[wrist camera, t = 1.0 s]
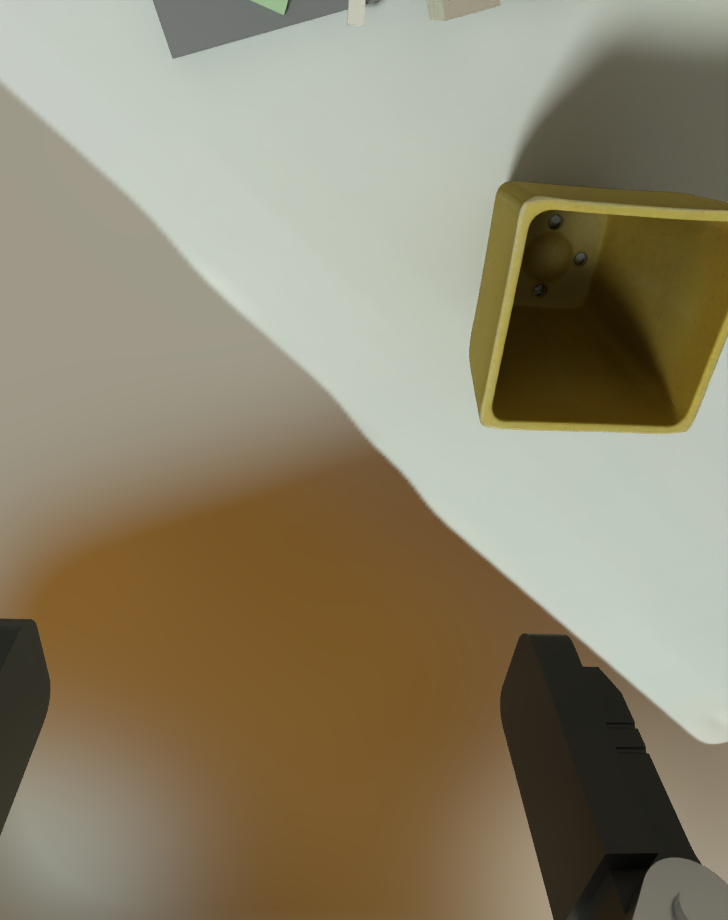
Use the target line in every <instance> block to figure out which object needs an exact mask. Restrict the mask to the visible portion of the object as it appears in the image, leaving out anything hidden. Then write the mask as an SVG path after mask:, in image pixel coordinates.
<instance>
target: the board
mask: <svg viewBox="0 0 728 920" xmlns="http://www.w3.org/2000/svg"><path fill="white" fill-rule="evenodd" d="M375 1H379V0H153V2H154V5H155V8H156V11H157V14H158V17H159V20H160V23H161V26H162V29H163V32H164V34H165V37H166V40H167V43H168V46H169V49H170V52H171V55H172V58H173V59H174V58H177V57H181V56H185V55H188V54H192V53H195V52H199V51H202V50H206V49H209V48H213V47H216V46H220V45H223V44H227V43H230V42H234V41H237V40H241V39H245V38H248V37H252V36H255V35H259V34H262V33H266V32H269V31H273V30H276V29H280V28H283V27H287V26H290V25H294V24H298V23H301V22H305V21H308V20H312V19H315V18H319V17H322V16H326V15H329V14H333V13H336V12H340V11H343V10H347V9H348V17H347V24H350V25H360V26H364V15H365V4H368V3H372V2H375Z"/></svg>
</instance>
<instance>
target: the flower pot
mask: <svg viewBox="0 0 728 920" xmlns="http://www.w3.org/2000/svg"><path fill="white" fill-rule="evenodd" d="M555 215H557V216H559V217H560V219H561V222H560V225H559V226H558V227H556V228H551V227H550V226H549V220H550V218H551V217H553V216H555ZM578 253H584V255H585V260H584V262H583V263H581V264H575V263H574V258H575V256H576V255H577V254H578ZM540 284H542V285H544V287H545V291H544V292H543V293H542V294H541V295H535V294H534V288H535V287H536V286H537V285H540ZM727 336H728V203H725V202H721V201H716V200H712V199H708V198H703V197H699V196H694V195H690V194H685V193H676V192H659V191H637V190H620V189H604V188H591V187H578V186H565V185H552V184H541V183H530V182H519V181H510V182H506V183H504V184H502V185H501V186H500V187H499V189H498V191H497V194H496V198H495V203H494V209H493V215H492V221H491V227H490V233H489V239H488V246H487V251H486V257H485V263H484V269H483V275H482V280H481V286H480V291H479V297H478V302H477V307H476V312H475V318H474V322H473V327H472V332H471V339H470V347H469V358H470V368H471V373H472V379H473V385H474V391H475V396H476V402H477V407H478V412H479V418H480V422H481V424H482V425H483V426H486V427H489V428H496V429H514V430H549V431H577V432H580V431H584V432H617V433H644V434H669V433H680V432H685V431H687V430H688V429H689V428H690V426H691V425H692V423H693V421H694V419H695V417H696V414H697V412H698V410H699V408H700V405H701V403H702V400H703V398H704V395H705V392H706V390H707V387H708V384H709V382H710V379H711V377H712V374H713V372H714V369H715V367H716V364H717V362H718V359H719V356H720V354H721V351H722V349H723V346H724V344H725V341H726V338H727Z"/></svg>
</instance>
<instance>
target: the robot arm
mask: <svg viewBox="0 0 728 920" xmlns="http://www.w3.org/2000/svg"><path fill="white" fill-rule="evenodd" d="M49 699H50V678H49V674H48V670H47V666H46V661H45V657H44V654H43V649H42V645H41V641H40V637H39V632H38V628H37V625H36V623H35V621H34V620H32V619H0V835H1V832H2V829H3V827H4V824H5V822H6V819H7V816H8V814H9V811H10V809H11V806H12V804H13V801H14V798H15V796H16V793H17V790H18V788H19V785H20V783H21V780H22V778H23V775H24V772H25V770H26V767H27V765H28V762H29V759H30V757H31V754H32V751H33V749H34V746H35V744H36V741H37V738H38V736H39V733H40V731H41V728H42V726H43V723H44V720H45V717H46V713H47V710H48V705H49ZM500 712H501V720H502V725H503V729H504V733H505V737H506V740H507V745H508V748H509V752H510V756H511V760H512V764H513V767H514V770H515V774H516V779H517V782H518V786H519V789H520V794H521V798H522V801H523V805H524V809H525V813H526V817H527V820H528V824H529V828H530V832H531V835H532V839H533V843H534V847H535V851H536V854H537V858H538V862H539V866H540V869H541V873H542V877H543V881H544V885H545V888H546V892H547V896H548V900H549V903H550V907H551V911H552V915H553V919H554V920H728V884H727V883H726V882H725V881H724V880H722V879H721V878H720V877H719V876H718V875H717V874H715V873H714V872H712V871H711V870H709V869H708V868H706V867H705V866H703V865H702V864H701V863H700V861H699V860H698V858H697V857H696V855H695V853H694V851H693V850H692V847H691V846H690V843H689V841H688V839H687V837H686V835H685V832H684V830H683V828H682V826H681V824H680V822H679V819H678V817H677V815H676V813H675V810H674V809H673V806H672V804H671V802H670V799H669V797H668V795H667V793H666V791H665V788H664V786H663V784H662V782H661V780H660V777H659V775H658V773H657V771H656V768H655V766H654V764H653V762H652V759H651V758H650V755H649V754H647V753H646V746H645V744H644V742H643V740H642V737H641V735H640V733H639V731H638V729H636V728H635V725H634V724H635V722H634V720H633V718H632V715H631V713H630V711H629V709H628V707H627V705H626V702H625V700H624V698H623V695H622V693H621V692H620V691H619V690H618V689H617V688H616V686H615V685H614V684H613V683H612V682H611V681H610V680H609V679H608V677H607V676H606V675H605V674H604V673H603V672H602V671H601V670H600V669H599V667H583V666H582V664H581V662H580V659H579V657H578V654H577V652H576V649H575V647H574V645H573V643H572V641H571V639H570V638H569V637H568V636H567V635H565V634H531V633H524V634H522V635H521V636H520V637H519V640H518V642H517V645H516V648H515V651H514V654H513V657H512V660H511V663H510V666H509V669H508V672H507V675H506V678H505V680H504V683H503V686H502V690H501V697H500Z"/></svg>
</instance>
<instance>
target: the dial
mask: <svg viewBox="0 0 728 920" xmlns="http://www.w3.org/2000/svg"><path fill="white" fill-rule="evenodd" d="M427 6H428V12H429V19H430V20H437V21H446V20H450V19H453V18H457V17H461V16H464V15H468V14H471V13H475V12H478V11H482V10H486V9H489V8H493V7H496V6H500V0H427Z"/></svg>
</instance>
